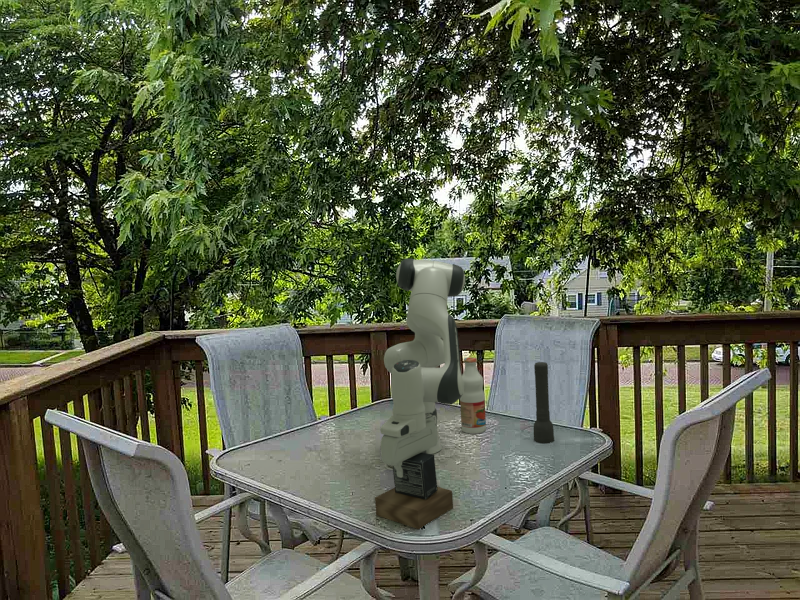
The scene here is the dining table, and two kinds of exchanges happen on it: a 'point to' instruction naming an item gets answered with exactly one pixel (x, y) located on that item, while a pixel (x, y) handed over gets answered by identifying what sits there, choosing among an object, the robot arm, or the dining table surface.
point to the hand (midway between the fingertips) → (412, 470)
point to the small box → (417, 476)
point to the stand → (413, 507)
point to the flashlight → (542, 406)
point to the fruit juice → (472, 399)
